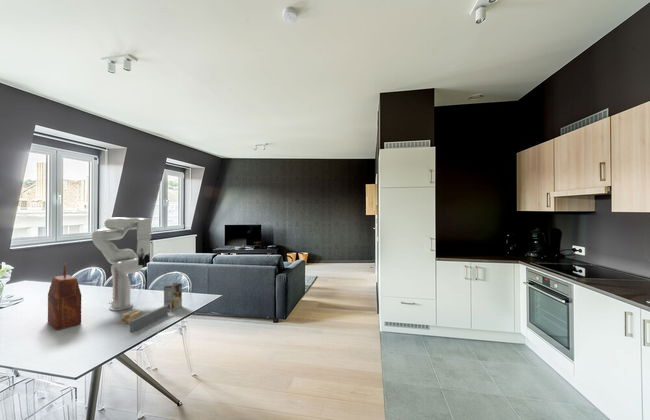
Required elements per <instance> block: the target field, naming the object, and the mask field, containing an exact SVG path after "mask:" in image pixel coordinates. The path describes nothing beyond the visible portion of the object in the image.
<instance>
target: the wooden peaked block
mask: <svg viewBox="0 0 650 420" xmlns="http://www.w3.org/2000/svg"><path fill="white" fill-rule="evenodd" d="M66 269H67V267H66V263H63V273H62V274H63V275H57V276H56V275H55V276H54V277H52V279H51V283H50V286H49V290H48V292H47V323H48V324H49V325H50V326H51V327H52V328H53V329H54V330H55V331H59V330H62V329H65V328H70V327H72V326H73V327H74V326H77V325H81V324H82V293H81V289H80V285H79V283H78V278H76V277H74V276H71V275H69V274H67V270H66Z"/></svg>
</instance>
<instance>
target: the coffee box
mask: <svg viewBox="0 0 650 420" xmlns="http://www.w3.org/2000/svg"><path fill="white" fill-rule="evenodd" d="M182 286H183V284H182V283H181V282H180V283H179V282H174V283H170V284H166V285H164V286H163V306H164V305H168V312H173V311H174V310H177V309H179V308H181V307H182V306H183V301H182V300H183V299H182V298H183V297H182V296H183V294H182V293H183V292H182V289H183V287H182Z"/></svg>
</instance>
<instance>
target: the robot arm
mask: <svg viewBox="0 0 650 420" xmlns="http://www.w3.org/2000/svg"><path fill="white" fill-rule="evenodd" d="M104 227H105V228H101V229H100V228H99V229H96V230H94V231H92V234H91V240H92V243H93V245H95V247H96V248H97V249H98V250H99V251H100V252H101V253H102V255H103V256H104V258H105V259H106V262H108V263H109V264H111V266H110V270H111V271H110V272H111V277H112V300H110V301H109V303H108V304H109V305H111V306H110V307H109V310H110V311H116V312H117V311H122V310H127V309H130V308H131V307H133V306H134V303H133V302H131V279H130V277H129V276H128V275H129V274H133V273H138V272H140V271H141V270H142V269H143V266H145V263H149V262H150V252H151V243H150V240H152V219H151V218H148V217H147V218H146V217H125V216H124V217H123V216H121V217H110V218H107V219H106V220H105V221H104ZM129 230H136V240H137V242H136V243H137V245H136V252H135V250H134V249H131V248H121V249H120V248H118V247H117V245H116V244H114V243H113V242H112V241H114V240H115V241H116V240H121V239H123V238H124V236H126V234H127V233H128V231H129Z"/></svg>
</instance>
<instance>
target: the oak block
mask: <svg viewBox="0 0 650 420" xmlns="http://www.w3.org/2000/svg"><path fill="white" fill-rule="evenodd" d="M142 315H143V311H142V310H136V309H132V310H129V311H127V312H124V313H122V314H121V321H120V323H121V324H129V325H130V321H131V320H133V319H135V318H138V317H140V316H142Z"/></svg>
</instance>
